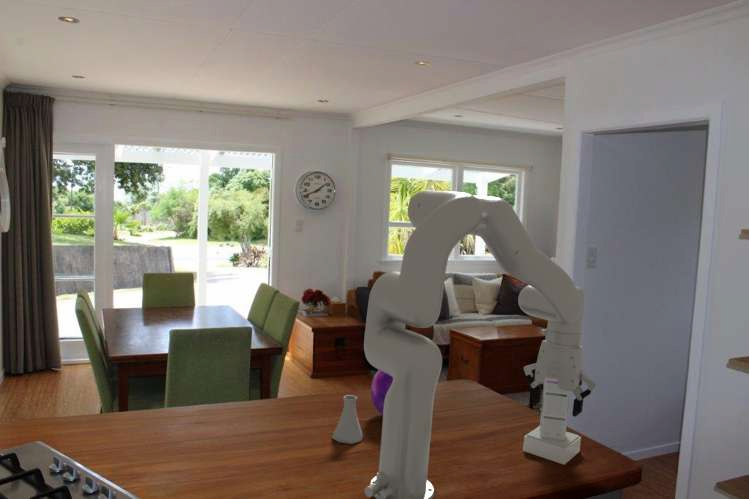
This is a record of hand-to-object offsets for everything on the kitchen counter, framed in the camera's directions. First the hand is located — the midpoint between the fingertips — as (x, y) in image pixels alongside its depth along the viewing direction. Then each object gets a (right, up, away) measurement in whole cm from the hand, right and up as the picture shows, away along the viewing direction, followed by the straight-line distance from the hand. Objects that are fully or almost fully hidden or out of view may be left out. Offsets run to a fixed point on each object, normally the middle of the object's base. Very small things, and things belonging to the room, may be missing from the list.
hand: (555, 409), depth 143 cm
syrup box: (-1, -6, +1) cm, 7 cm away
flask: (-49, -7, 0) cm, 50 cm away
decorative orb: (-37, -7, +15) cm, 40 cm away
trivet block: (-1, -10, +1) cm, 10 cm away
